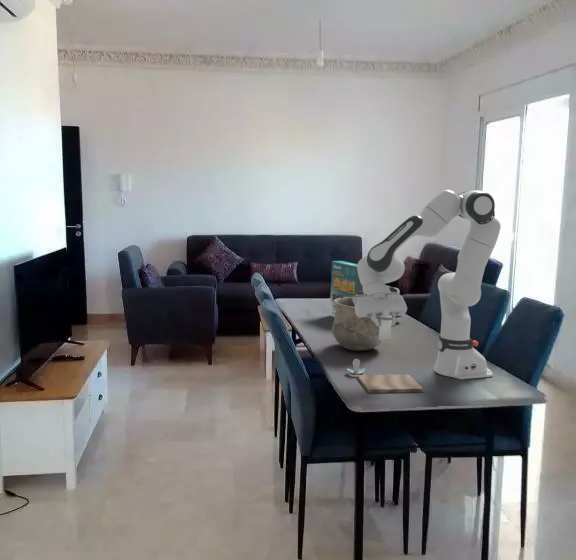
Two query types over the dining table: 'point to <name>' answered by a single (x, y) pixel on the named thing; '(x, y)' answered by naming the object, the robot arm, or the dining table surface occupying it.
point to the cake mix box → (344, 282)
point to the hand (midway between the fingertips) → (386, 325)
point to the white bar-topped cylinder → (385, 326)
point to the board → (389, 383)
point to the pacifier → (356, 369)
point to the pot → (354, 327)
